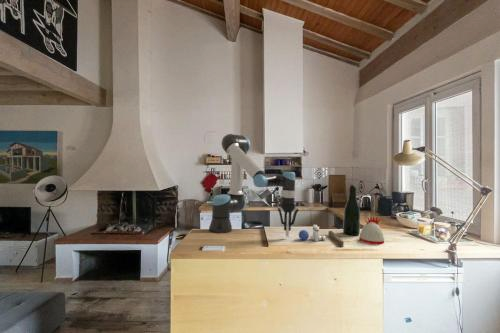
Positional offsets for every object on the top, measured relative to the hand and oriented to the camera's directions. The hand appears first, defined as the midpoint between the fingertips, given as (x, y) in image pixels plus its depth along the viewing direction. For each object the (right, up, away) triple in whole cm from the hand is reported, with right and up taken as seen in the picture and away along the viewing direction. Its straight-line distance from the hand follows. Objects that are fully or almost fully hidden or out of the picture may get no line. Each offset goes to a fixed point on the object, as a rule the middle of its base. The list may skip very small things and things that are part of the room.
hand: (287, 235), depth 168 cm
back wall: (+29, -3, -1) cm, 29 cm away
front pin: (+14, -1, 0) cm, 14 cm away
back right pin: (+17, -3, -3) cm, 18 cm away
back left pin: (+17, -2, +2) cm, 18 cm away
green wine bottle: (+45, -3, +17) cm, 49 cm away
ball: (+10, +1, -1) cm, 10 cm away
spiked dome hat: (+52, -4, +2) cm, 52 cm away
